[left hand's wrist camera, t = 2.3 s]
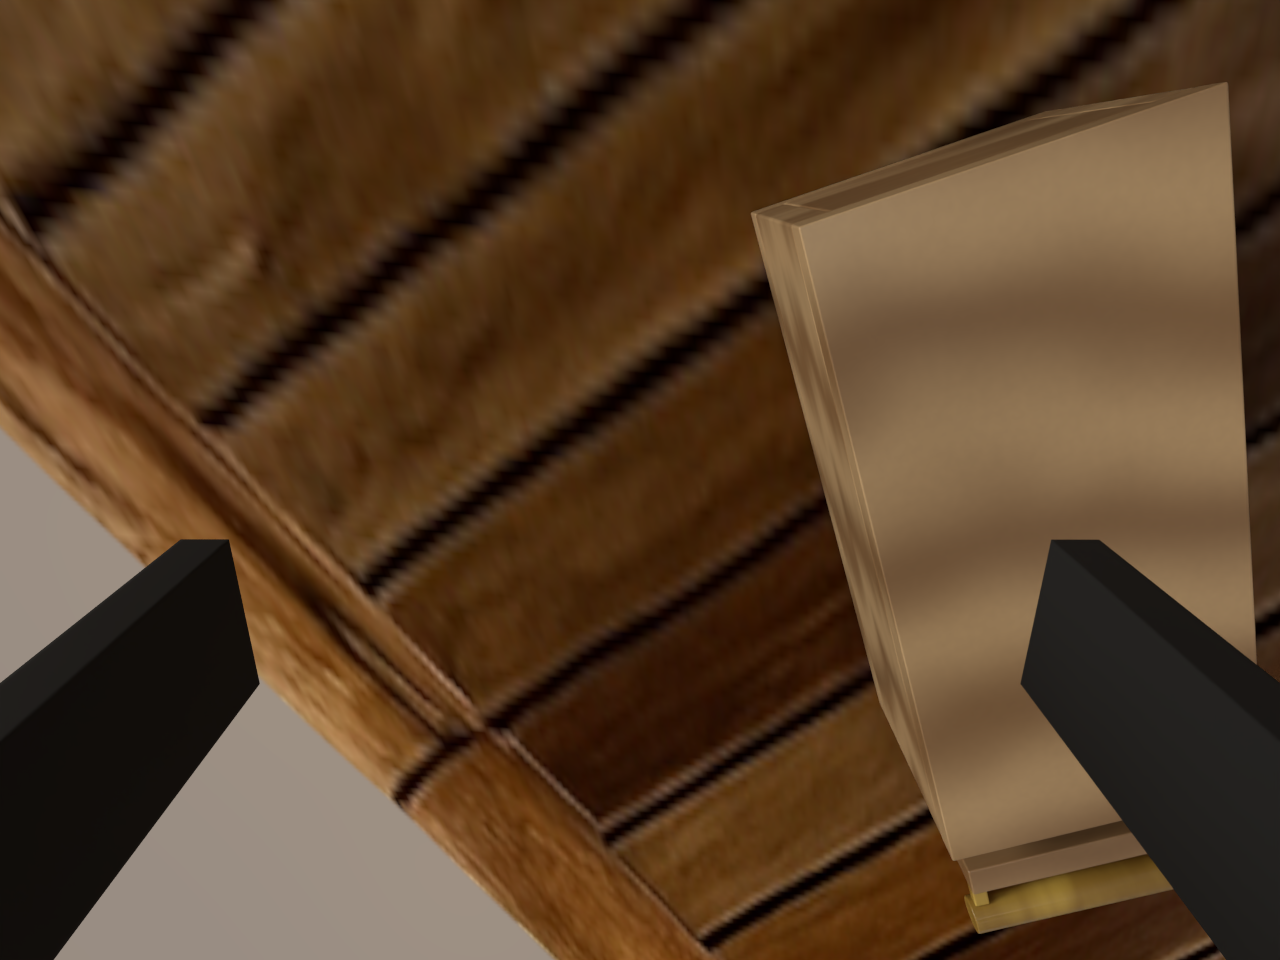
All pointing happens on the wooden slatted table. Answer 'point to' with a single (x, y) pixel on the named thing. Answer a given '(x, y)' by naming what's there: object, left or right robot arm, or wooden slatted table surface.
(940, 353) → the cabinet
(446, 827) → the wooden slatted table surface
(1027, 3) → the wooden slatted table surface
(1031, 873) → the drawer
